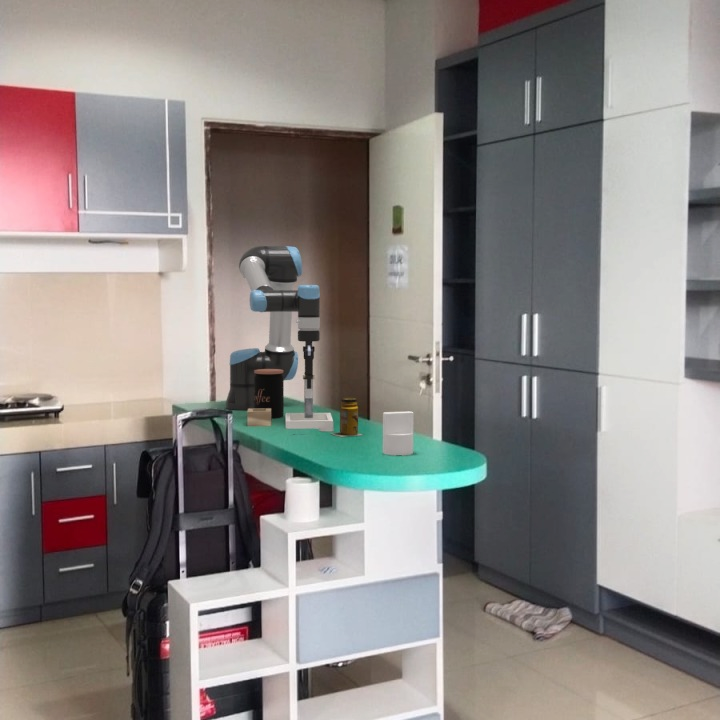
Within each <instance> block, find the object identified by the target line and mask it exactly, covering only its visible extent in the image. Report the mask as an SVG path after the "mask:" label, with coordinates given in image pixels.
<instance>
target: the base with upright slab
mask: <svg viewBox="0 0 720 720" xmlns="http://www.w3.org/2000/svg"><path fill="white" fill-rule="evenodd" d="M382 454H384V455H387V456H396V455H402V456H410V455H413V454H414V412H413V411H411V410H410V411H409V410H408V411H386V412H385V411H384V412H383V413H382Z"/></svg>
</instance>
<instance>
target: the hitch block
mask: <svg viewBox="0 0 720 720" xmlns="http://www.w3.org/2000/svg"><path fill="white" fill-rule="evenodd" d="M246 411H247V413H246V415H247V417H246V419H247V422H246V423H247V425H246V426H247V427H271V426H272V419H271V408H257V409H248V410H246Z"/></svg>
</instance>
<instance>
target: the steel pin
mask: <svg viewBox="0 0 720 720" xmlns="http://www.w3.org/2000/svg"><path fill="white" fill-rule="evenodd" d="M303 377H305V374H304V375H302V378H303ZM315 378H316V377H315V375H314V374H313V380H315ZM303 382H304V385H303V387H304V394H303V395H304V407H303V408H304V409H303V410H304V412H303V413H304V418H313V413H314V397H313V398H305V379H303Z"/></svg>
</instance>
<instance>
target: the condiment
mask: <svg viewBox="0 0 720 720" xmlns="http://www.w3.org/2000/svg"><path fill="white" fill-rule="evenodd" d="M340 402H341V403H340V406H339V432H330V435H333V436H336V437H340V438H343V437H356V436H363V434H362V433H359V407H358V399H357V397H356V398H355V397H343V398H341V399H340Z"/></svg>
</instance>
